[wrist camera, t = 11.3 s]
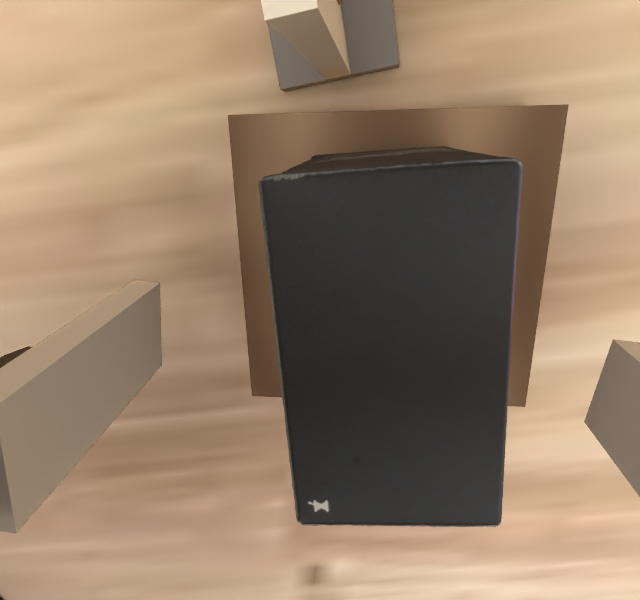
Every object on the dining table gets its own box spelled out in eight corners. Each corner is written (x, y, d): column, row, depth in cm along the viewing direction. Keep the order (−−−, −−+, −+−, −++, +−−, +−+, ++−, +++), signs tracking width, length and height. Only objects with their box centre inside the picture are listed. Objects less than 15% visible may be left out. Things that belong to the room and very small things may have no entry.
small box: (455, 367, 23) (512, 540, 13) (324, 369, 24) (289, 534, 14) (459, 141, 20) (541, 154, 10) (305, 153, 21) (241, 176, 11)
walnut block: (274, 347, 31) (252, 395, 25) (260, 117, 26) (227, 115, 20) (496, 352, 29) (525, 406, 24) (524, 109, 24) (568, 104, 19)
